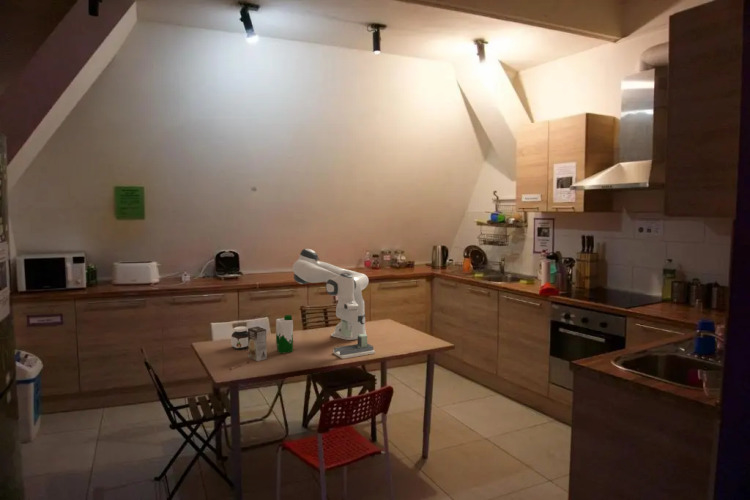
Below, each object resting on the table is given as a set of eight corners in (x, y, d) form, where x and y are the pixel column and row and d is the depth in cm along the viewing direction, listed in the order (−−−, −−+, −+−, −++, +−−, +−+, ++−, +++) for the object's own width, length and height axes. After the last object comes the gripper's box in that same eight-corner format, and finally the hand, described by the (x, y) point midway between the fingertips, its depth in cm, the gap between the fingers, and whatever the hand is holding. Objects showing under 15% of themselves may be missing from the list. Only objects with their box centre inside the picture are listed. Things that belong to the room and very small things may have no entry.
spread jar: (229, 348, 288) (228, 328, 287) (241, 343, 298) (240, 324, 297) (247, 351, 284) (247, 330, 283) (258, 345, 294) (258, 326, 293)
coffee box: (247, 357, 272) (247, 328, 271) (258, 354, 277) (257, 326, 275) (256, 361, 266) (256, 331, 264) (267, 358, 270) (266, 329, 269)
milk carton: (294, 352, 282) (294, 317, 280) (278, 354, 278) (277, 318, 276) (290, 348, 290) (290, 313, 288) (275, 349, 286) (274, 315, 284)
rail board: (342, 358, 271) (342, 341, 270) (332, 352, 281) (332, 336, 280) (374, 353, 281) (374, 336, 280) (364, 347, 291) (364, 331, 290)
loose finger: (345, 336, 275) (345, 322, 274) (341, 335, 279) (341, 320, 278) (351, 336, 277) (351, 321, 276) (348, 334, 281) (348, 319, 280)
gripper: (333, 300, 283) (333, 324, 285) (349, 307, 265) (349, 333, 267) (343, 299, 286) (343, 323, 288) (360, 306, 269) (360, 331, 270)
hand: (346, 328), depth 277 cm, fingers closed on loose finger, 4 cm apart
